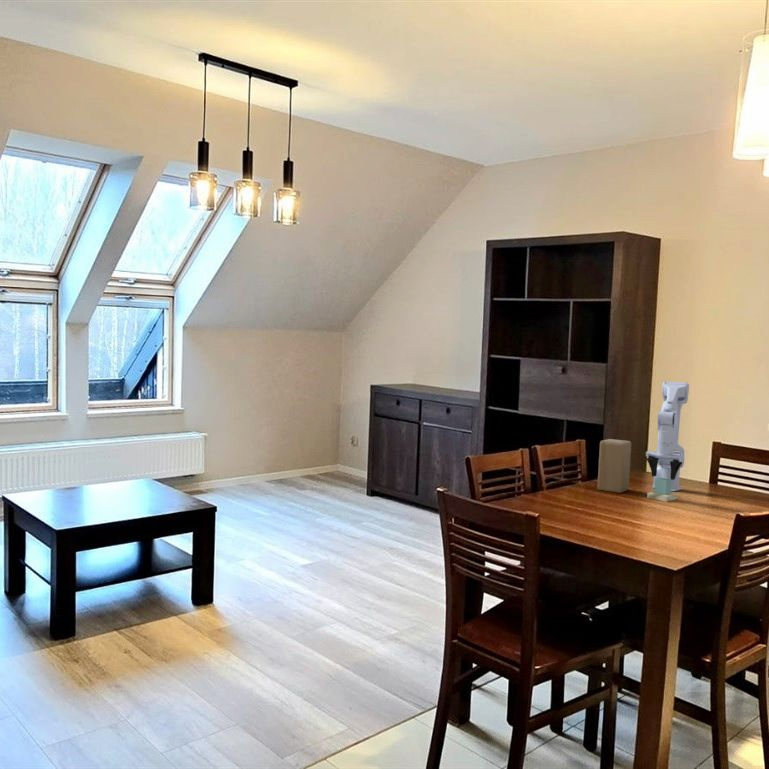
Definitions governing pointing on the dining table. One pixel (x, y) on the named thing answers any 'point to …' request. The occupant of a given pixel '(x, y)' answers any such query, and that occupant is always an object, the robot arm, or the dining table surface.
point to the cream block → (662, 496)
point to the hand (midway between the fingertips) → (663, 477)
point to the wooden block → (614, 465)
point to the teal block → (663, 486)
